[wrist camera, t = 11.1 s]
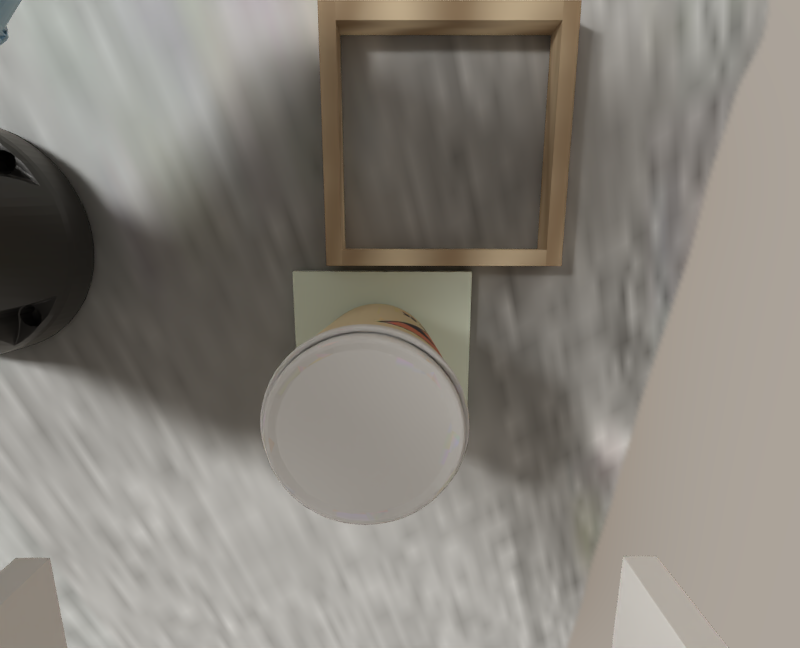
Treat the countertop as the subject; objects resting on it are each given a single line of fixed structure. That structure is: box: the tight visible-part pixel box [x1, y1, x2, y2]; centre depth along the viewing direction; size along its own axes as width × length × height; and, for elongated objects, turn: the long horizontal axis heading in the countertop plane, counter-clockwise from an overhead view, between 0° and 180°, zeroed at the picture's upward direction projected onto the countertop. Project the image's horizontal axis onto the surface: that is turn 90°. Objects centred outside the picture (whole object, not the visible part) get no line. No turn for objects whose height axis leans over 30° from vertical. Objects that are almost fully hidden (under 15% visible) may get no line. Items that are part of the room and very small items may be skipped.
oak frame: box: [318, 0, 582, 266], centre depth 28 cm, size 15×15×2 cm
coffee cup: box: [260, 304, 470, 525], centre depth 25 cm, size 9×9×12 cm
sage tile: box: [292, 271, 472, 401], centre depth 31 cm, size 12×12×1 cm
